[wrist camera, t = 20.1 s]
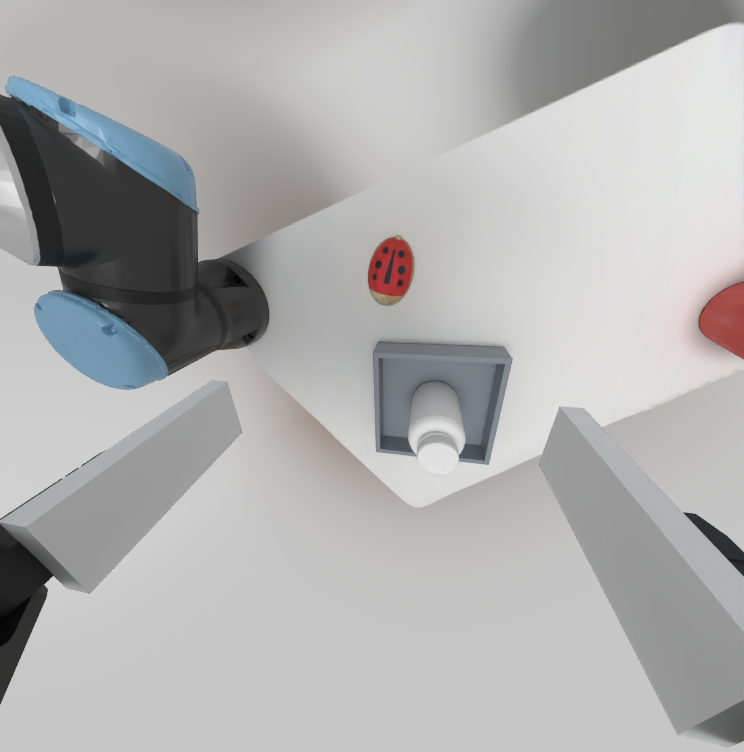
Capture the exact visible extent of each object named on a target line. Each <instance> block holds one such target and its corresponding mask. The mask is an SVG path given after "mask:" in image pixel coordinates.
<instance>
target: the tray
mask: <svg viewBox="0 0 744 752" xmlns="http://www.w3.org/2000/svg"><path fill="white" fill-rule="evenodd" d="M373 364H374V399H375V433H376V452H382V453H390V454H399V455H408V456H416V457H417V455H416V454H415V453H414V451H413V450H412V448H411V447H410V444H409V440H408V432H409V423H410V414H411V405H412V398H413V395H414V393H415V391H416V390H417V389H418V388H419V387H420V386H421V385H423V384H425V383H428V382H434V381H436V382H442V383H445V384H447V385H449V386H450V387H451V388H452V389H453V390H454V391H455V392H456V394H457V397H458V400H459V406H460V411H461V416H462V421H463V427H464V432H465V445H464V448H463V450H462V452H461V453H460V454H459V461H460V462H469V463H478V464H486V465H489V461H490V457H491V452H492V448H493V443H494V439H495V435H496V430H497V426H498V421H499V417H500V412H501V408H502V404H503V399H504V395H505V390H506V386H507V381H508V377H509V373H510V368H511V364H512V358H511V356H510V355H509V353H508V352H507V351H506V349H505V348H504V347H495V346H468V345H441V344H414V343H387V342H378V344H377V346H376V348H375V350H374V352H373Z"/></svg>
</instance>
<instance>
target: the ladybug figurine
mask: <svg viewBox="0 0 744 752" xmlns="http://www.w3.org/2000/svg"><path fill="white" fill-rule="evenodd" d="M413 273H414V258H413V253H412V251H411V248H410V246H409V245H408V243H407V242H406V241H405V240H403V239H402V238H401V236H399V235H397V236H396V237H391V238H388V239H386V240H385V241H383V242H382V243H381V244H380V245H379V246H378V247H377V249H376V250H375V252H374V254H373V256H372V258H371V261H370V265H369V270H368V284H369V289H370V292H371V294H372V296H373V298H374V299H375V300H376V301H377V302H378V303H380V304H382V305H386V306H389V305H393V304H395V303H397V302H398V301H400V300H401V299H402V298H403V297H404V295H405V294H406V292H407V291H408V289H409V287H410V284H411V281H412V278H413Z"/></svg>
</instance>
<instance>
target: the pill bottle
mask: <svg viewBox="0 0 744 752" xmlns="http://www.w3.org/2000/svg"><path fill="white" fill-rule="evenodd" d="M408 440H409V444H410V447H411V448H412V450H413V451H414V453H415V454H416V455H417V461H418V463H419V465H420V466H421V467H422V468H423V469H424V470H426V471H427V472H430V473H433V474H445V473H449V472H451V471H452V470H454V469H455V468H456V466H457V465H458V463H459V454H460V453H461V452H462V450H463V448H464V445H465V432H464V427H463V421H462V416H461V411H460V406H459V400H458V397H457V394H456V392H455V391H454V390H453V389H452V388H451V387H450V386H449V385H447V384H445V383H442V382H436V381H434V382H428V383H425V384H423V385H421V386H420V387H419V388H418V389H417V390H416V391H415V393H414V395H413V398H412V405H411V414H410V423H409V432H408Z"/></svg>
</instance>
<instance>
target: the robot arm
mask: <svg viewBox="0 0 744 752" xmlns="http://www.w3.org/2000/svg"><path fill="white" fill-rule="evenodd" d="M5 89H6V92H7V93H8V94H9V95H10V96H11V98H9V97H5V96H2V95H0V248H1V249H3V250H5V251H7V252H8V253H10V254H12V255H14V256H15V257H17V258H19V259H20V260H22V261H24V262H26V263H27V264H29V265H36V266H56V267H58V270H59V273H60V277H61V282H62V285H63V291H61V290H54V291H51V292H48V294H45V295H43V296H41V297H40V298H39V299H38V301H37V302H38V303H36V304H35V308H34V312H35V318H36V321H37V323H38V326H39V328H40V330H41V331H42V333H43V334H44V336H45V338H46V339H47V340H48V341H49V343H50V344H51V345H52V347H53V348H54V349H55V350H56V351H57V352H58V353H59V354H60V355H61V356H62V357H63V358H64V359H65V360H66V361H67V362H68V363H70V364H71V365H72V366H73V367H74V368H76V369H77V370H78V371H80V372H81V373H83V374H84V375H86V376H87V377H89V378H91V379H92V380H94V381H96V382H99V383H101V384H103V385H106V386H109V387H112V388H117V389H124V390H130V389H136V388H140V387H143V386H145V385H147V384H150V383H152V382H154V381H157V380H162V379H164V378H166V377H167V376H169V375H171V374H172V373H174V372H176V371H178V370H180V369H182V368H184V367H186V366H188V365H189V364H191V363H193V362H195V361H197V360H199V359H201V358H202V357H204V356H206V355H208V354H210V353H212V352H214V351H216V350H226V349H238V348H243V347H246V346H248V345H250V344H252V343H254V342H255V341H257V340H258V339H259V338H260V337H261V336H262V335H263V334H264V332H265V330H266V328H267V325H268V319H269V311H268V305H267V301H266V298H265V295H264V293H263V291H262V289H261V287H260V286H259V284H258V283H257V281H256V280H255V279H254V278H253V277H252V275H251V274H250V273H248V272H247V271H246V270H245V269H244V268H242V267H241V266H239V265H237V264H235V263H233V262H230V261H227V260H222V259H214V260H204V261H201V262H198V234H197V233H198V232H197V229H198V228H197V214H199V210H198V208H197V206H196V191H195V178H194V174H193V171H192V169H191V167H190V166H189V165H188V163H187V162H186V161H185V160H184V159H183V158H182V157H181V156H180V155H178V154H177V153H176V152H174V151H172V150H170V149H169V148H167V147H165V146H163V145H161V144H160V143H158V142H156V141H154V140H152V139H150V138H148V137H146V136H144V135H142V134H140V133H138V132H136V131H134V130H132V129H130V128H128V127H126V126H124V125H122V124H120V123H118V122H116V121H114V120H112V119H110V118H107V117H106V116H104V115H101V114H100V113H98V112H95V111H93V110H91V109H89V108H87V107H85V106H82V105H79V104H76V103H75V102H73V101H71V100H69V99H67V98H64V97H62V96H60V95H58V94H56V93H54V92H52V91H50V90H48V89H46V88H44V87H42V86H39V85H37V84H35V83H32V82H30V81H28V80H25V79H23V78H20V77H15V76H12V77H9V79H8V84H7V85H6V86H5ZM241 433H242V429H241V426H240V422H239V419H238V416H237V412H236V409H235V406H234V403H233V399H232V396H231V393H230V389H229V386H228V383H227V382H225V381H210V382H209V383H207V384H206V385H204V386H202V387H201V388H200V389H198V390H196V391H195V392H193V393H192V394H190V395H189V396H187V397H186V398H184V399H183V400H181V401H180V402H178V403H177V404H175V405H174V406H172V407H171V408H169V409H168V410H166V411H165V412H163V413H162V414H160V415H159V416H157V417H156V418H154V419H153V420H151V421H150V422H148V423H147V424H145V425H144V426H142V427H141V428H139V429H138V430H136V431H134V432H133V433H131V434H130V435H129V436H127V437H125V438H124V439H122V440H121V441H119V442H118V443H116V444H115V445H113V446H112V447H111V448H109V449H107V450H106V451H104V452H102V453H100V454H98V455H97V456H95V457H93V458H92V459H91V460H89V461H87V462H86V463H84V464H83V465H82V466H81V467H80V468H77V469H75V470H74V471H72V472H71V473H69V474H68V475H66V477H65V478H63V479H60V480H59V481H57V482H56V483H54V484H52V485H51V486H49V487H48V488H46V489H45V490H43V491H42V492H40V493H39V494H37V495H36V496H34V497H33V498H31V499H30V500H28V501H27V502H25V503H24V504H22V505H21V506H19V507H18V508H16V509H15V510H13V511H12V512H10V513H8V514H7V515H5V516H4V517H3V518H1V519H0V704H1V702H2V699H3V697H4V695H5V692H6V690H7V688H8V685H9V683H10V681H11V678H12V676H13V674H14V671H15V669H16V667H17V665H18V662H19V660H20V658H21V655H22V653H23V651H24V648H25V646H26V643H27V641H28V639H29V637H30V634H31V632H32V630H33V627H34V625H35V623H36V621H37V618H38V616H39V613H40V611H41V609H42V606H43V604H44V602H45V600H46V597H47V592H48V589H47V588H46V587H45V585H44V584H45V583H46V582H47V581H48V580H49V579H50V578H51V577H52V576H54V577H55V578H56V579H57V580H59V582H61V583H62V584H63V585H64V586H65V587H66V588H68V589H73V590H76V591H80V592H85V593H89V594H90V593H91V592H92V591H93V590H94V589H95V588H96V587H97V586H98V585H99V583H100V582H101V581H102V580H103V579H104V578H105V577H106V576H107V575H108V574H109V573H110V572H111V571H112V570H113V569H114V568H115V567H116V565H117V564H118V563H119V562H120V561H121V560H122V559H123V558H124V557H125V556H126V555H127V554H128V553H129V552H130V551H131V550H132V549H133V547H134V546H135V545H136V544H137V543H138V542H139V541H140V540H141V539H142V538H143V537H144V536H145V535H146V534H147V533H148V532H149V531H150V529H151V528H152V527H153V526H154V525H155V524H156V523H157V522H158V521H159V520H160V519H161V518H162V517H163V516H164V515H165V514H166V513H167V511H168V510H169V509H170V508H171V507H172V506H173V505H174V504H175V503H176V502H177V501H178V500H179V499H180V498H181V497H182V496H183V495H184V493H185V492H186V491H187V490H188V489H189V488H190V487H191V486H192V485H193V484H194V483H195V482H196V481H197V480H198V479H199V477H201V475H202V474H203V473H204V472H205V471H206V470H207V469H208V468H209V467H210V466H211V465H212V464H213V463H214V462H215V461H216V460H217V458H218V457H219V456H220V455H221V454H222V453H223V452H224V451H225V450H226V449H227V448H228V447H229V446H230V445H231V444H232V443H233V442H234V441H235V439H236V438H237V437H238V436H239V435H240V434H241ZM539 465H540V468H541V470H542V472H543V473H544V475H545V477H546V479H547V481H548V483H549V485H550V487H551V489H552V491H553V493H554V495H555V497H556V499H557V501H558V503H559V505H560V507H561V509H562V511H563V512H564V514H565V516H566V518H567V520H568V522H569V524H570V526H571V528H572V530H573V532H574V534H575V536H576V538H577V540H578V542H579V544H580V546H581V548H582V550H583V552H584V553H585V555H586V557H587V559H588V561H589V563H590V565H591V567H592V569H593V571H594V573H595V575H596V577H597V579H598V581H599V583H600V584H601V587H602V588H603V590H604V593H605V594H606V596H607V598H608V600H609V602H610V604H611V606H612V608H613V610H614V612H615V614H616V616H617V618H618V619H619V622H620V624H621V626H622V628H623V630H624V631H625V633H626V635H627V637H628V639H629V641H630V643H631V645H632V647H633V649H634V651H635V653H636V655H637V657H638V659H639V661H640V663H641V665H642V667H643V669H644V671H645V672H646V674H647V676H648V678H649V680H650V682H651V684H652V686H653V688H654V690H655V692H656V694H657V696H658V698H659V700H660V702H661V704H662V706H663V708H664V710H665V711H666V713H667V715H668V717H669V719H670V721H671V723H672V725H673V727H674V729H675V731H676V733H677V735H679V736H683V737H687V738H692V739H695V740H700V741H704V742H708V743H712V744H716V745H721V746H725V747H731V746H733V745H735V744H737V743H740V742H742V741H744V552H743V551H742V550H741V549H740V548H739V547H738V546H737V545H736V544H735V543H734V542H733V541H732V540H731V539H730V538H728V536H726V535H725V534H723V533H722V532H721V531H719V530H718V529H716V528H715V527H714V526H712V525H711V524H709V523H708V522H706V521H705V520H704V519H702V518H701V517H699V516H698V515H696V514H692V513H684V512H682V511H681V510H680V509H679V508H678V507H677V506H676V505H675V504H674V503H673V502H672V501H671V500H670V499H669V498H668V496H667V495H666V494H665V493H664V492H663V491H662V490H661V489H660V488H659V487H658V486H657V485H656V484H655V483H654V482H653V481H652V480H651V479H650V477H649V476H648V475H647V474H646V473H644V471H643V470H642V469H641V468H640V467H639V466H638V465H637V464H636V463H635V462H634V461H633V460H632V459H631V458H630V456H629V455H627V453H625V451H624V450H623V449H622V448H621V447H620V446H619V445H618V444H617V443H616V442H615V441H614V440H613V439H612V437H611V436H610V435H609V434H607V432H605V430H604V429H603V428H602V427H601V426H600V425H599V424H598V423H597V422H596V421H595V420H594V419H593V417H592V416H591V415H590V414H589V413H588V412H587V411H586V410H585V409H584V408H573V407H559V410H558V412H557V415H556V418H555V421H554V423H553V426H552V429H551V432H550V434H549V437H548V440H547V443H546V445H545V448H544V451H543V454H542V456H541V459H540V462H539Z"/></svg>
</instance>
